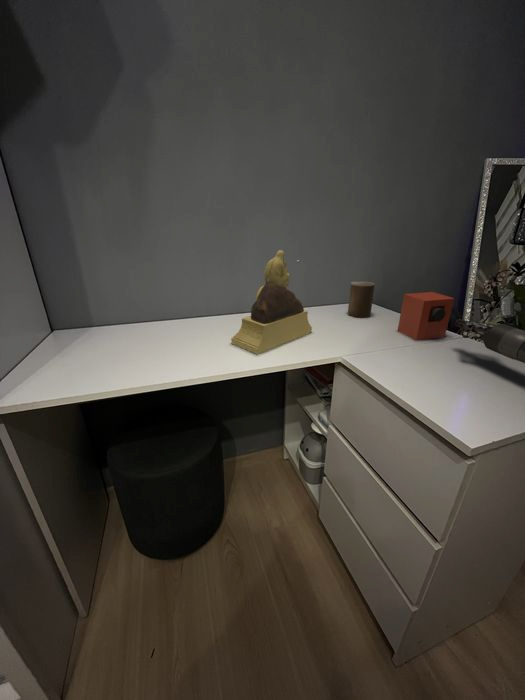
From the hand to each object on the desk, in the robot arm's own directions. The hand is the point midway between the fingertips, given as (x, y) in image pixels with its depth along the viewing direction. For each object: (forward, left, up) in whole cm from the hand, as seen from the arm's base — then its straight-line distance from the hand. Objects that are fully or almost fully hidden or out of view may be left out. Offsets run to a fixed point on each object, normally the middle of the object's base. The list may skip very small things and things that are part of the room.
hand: (457, 322), depth 94 cm
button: (+1, -8, -2) cm, 8 cm away
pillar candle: (+13, -40, -9) cm, 43 cm away
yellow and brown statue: (+55, -19, -9) cm, 59 cm away
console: (+1, -14, -9) cm, 16 cm away
